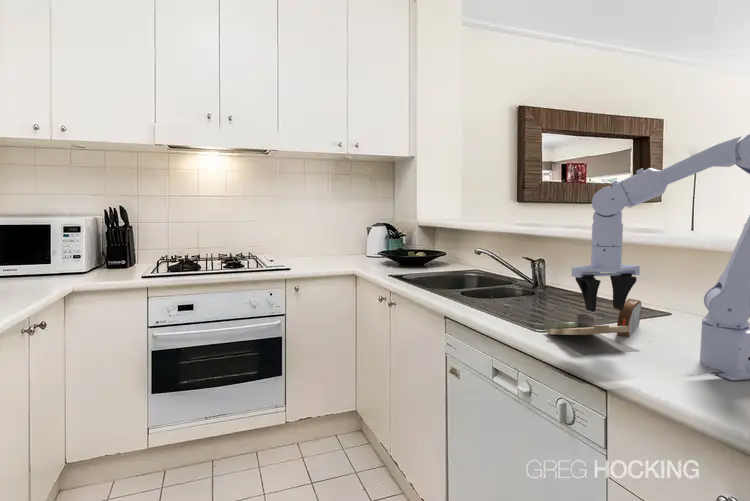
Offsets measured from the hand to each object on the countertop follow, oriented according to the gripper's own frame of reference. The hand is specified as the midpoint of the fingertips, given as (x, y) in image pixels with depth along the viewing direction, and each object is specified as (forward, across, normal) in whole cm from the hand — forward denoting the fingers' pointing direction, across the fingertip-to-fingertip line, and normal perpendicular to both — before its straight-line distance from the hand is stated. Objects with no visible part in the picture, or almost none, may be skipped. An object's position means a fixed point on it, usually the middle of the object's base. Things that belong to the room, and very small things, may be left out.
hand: (604, 309), depth 98 cm
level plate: (+7, 0, -6) cm, 9 cm away
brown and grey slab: (+10, -16, -12) cm, 22 cm away
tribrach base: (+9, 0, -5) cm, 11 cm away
